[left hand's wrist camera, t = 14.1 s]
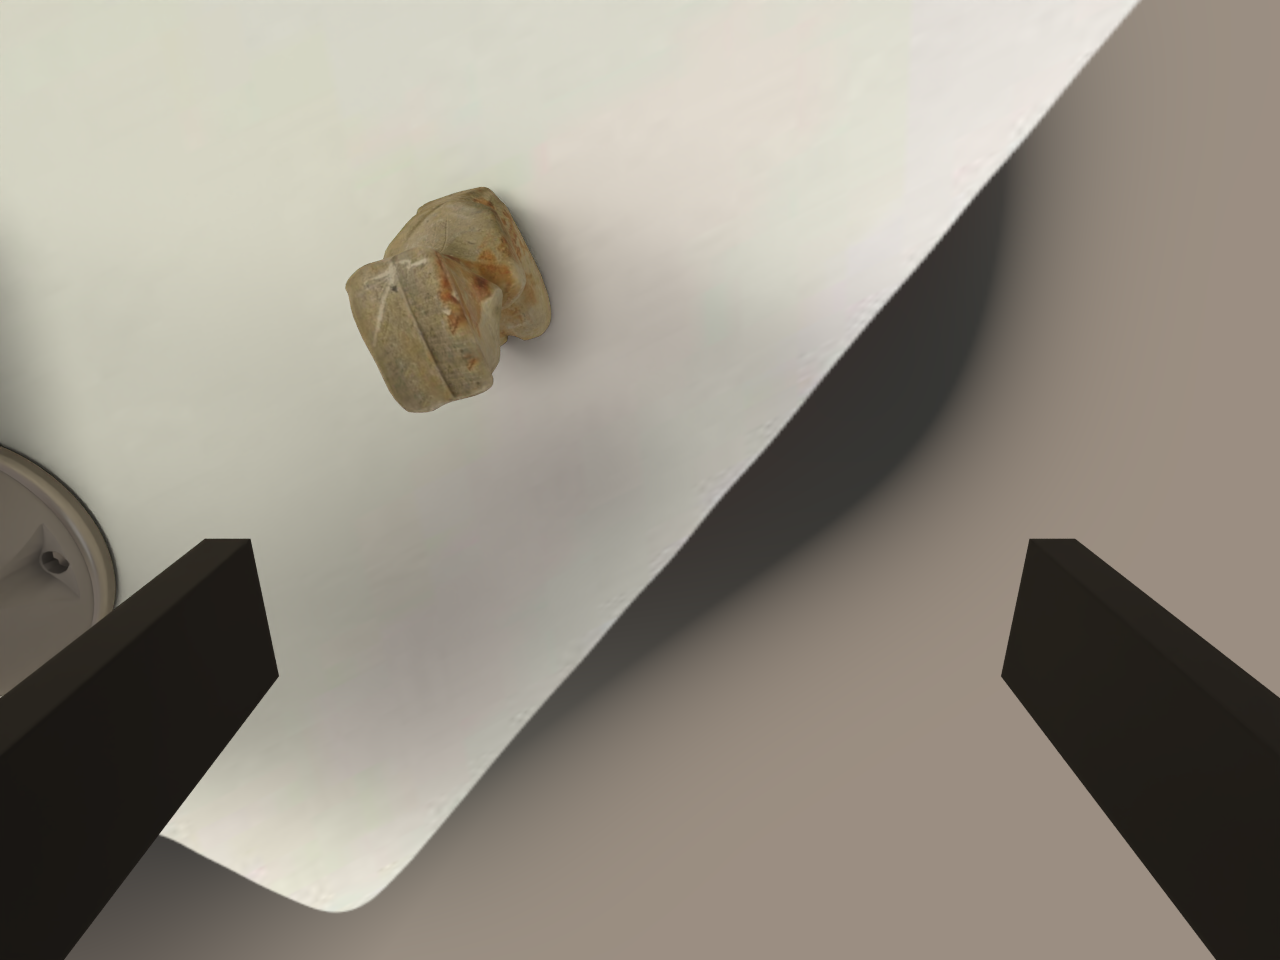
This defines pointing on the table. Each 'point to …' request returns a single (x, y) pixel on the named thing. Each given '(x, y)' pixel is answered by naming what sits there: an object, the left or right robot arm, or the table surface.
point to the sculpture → (448, 299)
